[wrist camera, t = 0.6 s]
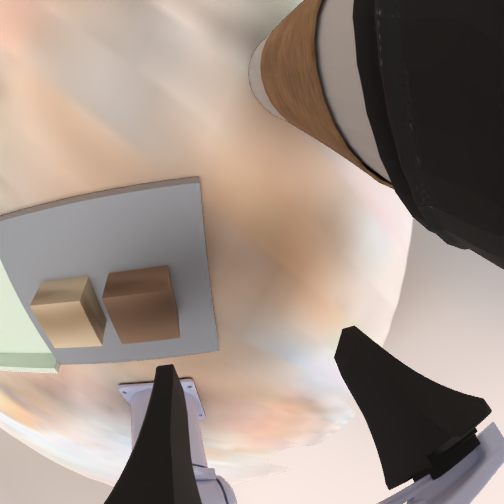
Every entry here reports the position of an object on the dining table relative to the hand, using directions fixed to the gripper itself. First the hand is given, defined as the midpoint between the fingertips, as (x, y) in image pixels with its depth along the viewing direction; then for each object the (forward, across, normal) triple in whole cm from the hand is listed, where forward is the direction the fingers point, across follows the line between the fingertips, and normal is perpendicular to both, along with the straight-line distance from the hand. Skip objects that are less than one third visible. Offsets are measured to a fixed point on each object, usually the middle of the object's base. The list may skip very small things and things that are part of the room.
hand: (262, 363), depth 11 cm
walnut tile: (+8, +6, +2) cm, 10 cm away
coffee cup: (+10, -5, -11) cm, 15 cm away
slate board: (+10, +9, +2) cm, 13 cm away
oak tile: (+8, +11, +2) cm, 14 cm away
